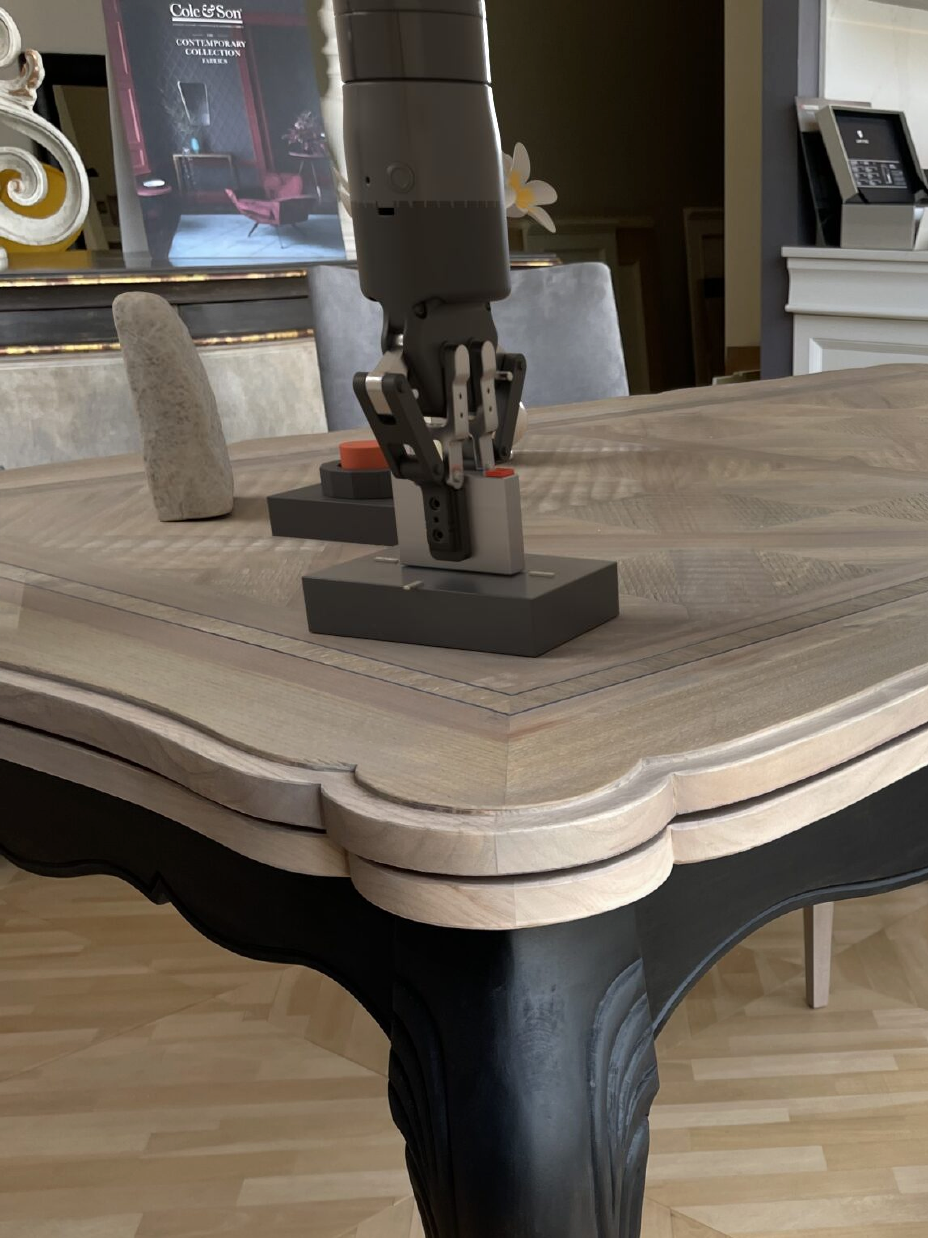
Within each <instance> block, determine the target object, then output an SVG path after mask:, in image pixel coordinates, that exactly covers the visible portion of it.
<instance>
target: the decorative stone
mask: <svg viewBox="0 0 928 1238" xmlns="http://www.w3.org/2000/svg"><path fill="white" fill-rule="evenodd" d="M111 305H112V315H113V323H114V326H115V329H116V333H117V337H118V343H119V347H120V351H121V356H122V360H123V365H124V369H125V374H126V378H127V382H128V385H129V388H130V392H131V397H132V404H133V407H134V411H135V412H134V413H135V416H136V421H137V427H138V435H139V439H140V446H141V447H140V448H141V454H142V463H143V467H144V472H145V473H144V474H145V477H146V478H145V479H146V482H147V486H148V491H149V495H150V499H151V503H152V507H153V509H154V514H155V517H156V519H157V520H159V521H160V522H174V521H175V522H176V521H184V520H192V519H194V520H196V519H197V520H199V519H206V518H213V517H218V516H221V515H226V514H230V513H231V512H232V509H233V507H234V494H235V482H234V480H235V479H234V473H233V466H232V463H231V460H230V459H231V458H230V455H229V449H228V445H227V442H226V436H225V434H224V430H223V426H222V425H223V424H222V420H221V416H220V413H219V410H218V405H217V399H216V395H215V392H214V389H213V387H212V385H211V383H210V380H209V377H208V374H207V371H206V368H205V365H204V363H203V362H202V359H201V356H200V354H199V351H198V349H197V347H196V345H195V342H194V341H193V340H194V339H193V338H192V336H191V334H190V331H189V328H188V327H187V326H186V324H185V322H184V321H183V320H182V319H181V317H180V316H179V314H178V313H177V312H176V310H175V309H174V308H173V307H172V306H171V304H170V303H169V301H167V299H165V298H164V297H163V296H161V295H159V294H157V293H153V292H148V291H147V292H146V291H126V292H123V293H121V294H118V295H117V296H116V297H115V298H114V300H113V302H112V304H111Z"/></svg>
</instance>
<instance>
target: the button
mask: <svg viewBox="0 0 928 1238" xmlns="http://www.w3.org/2000/svg"><path fill="white" fill-rule="evenodd" d="M338 448H339V458H340V460H341V465H342V468H346V469H379V468H389V465H388V463H387V461H386V459H385V457H384V455H383V453H382V451H381V448H380V446H379V444H378V442H377V440H376V439H375V440H374V439H372V440H352V441H345V442H341V443H340V444H339V445H338Z"/></svg>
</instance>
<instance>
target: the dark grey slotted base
mask: <svg viewBox="0 0 928 1238" xmlns="http://www.w3.org/2000/svg"><path fill="white" fill-rule="evenodd" d="M524 557H525V570H523V571H520V572H518V573H515V574H513V575H502V574H492V573H482V572H471V571H461V570H450V569H440V568H429V567H419V566H409V565H401V562H400V553H399V545H396V546H388V547H386V548H383V549H380V550H377V551H375V552H374V551H373V552H372V553H371V552H370V553H368V554H366V555H363V556H358V557H357V558H353V559H350V560H347V561H343V562H341V563H338V564H334V565H332V566H329V567H326V568H322V569H319V570H316V571H314V572H310V573H307V574H304V575H302V576H300V577H301V579H300V580H301V585H302V592H303V600H304V606H305V613H306V622H307V628H308V631H309V632H310V633H315V634H324V635H334V636H343V637H352V638H362V639H370V640H378V641H388V642H396V643H405V644H415V645H424V646H433V647H440V648H441V647H442V648H449V649H460V650H470V651H478V652H486V653H496V654H503V655H504V654H505V655H513V656H523V657H532V658H537V657H538V656H540V655H542V654H544V653H546V652H548V651H551V650H552V649H554V648H556V647H558V646H560V645H562V644H564V643H566V642H568V641H570V640H572V639H574V638H576V637H578V636H580V635H582V634H584V633H586V632H588V631H589V630H592V629H594V628H595V627H597V626H600V625H602V624H603V623H605V622H608V621H609V620H611V619H614V618H616V617H617V616H619V615H620V596H619V573H618V569H619V568H618V561H615V560H606V559H595V558H583V557H573V556H572V557H571V556H562V555H561V556H559V555H549V554H538V553H526V552H524Z"/></svg>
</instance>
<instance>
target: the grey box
mask: <svg viewBox="0 0 928 1238" xmlns="http://www.w3.org/2000/svg"><path fill="white" fill-rule="evenodd" d="M463 475H464V479H463V484H462V486H461V488H465V489H466V499H467V510H468V520H469V531H470V542H471V556H470V557H469V558H468V559H466V560H464V561H461V562H451V561H440V560H435V559H434V558H433V557H432V556H431V554H430V551H429V545H428V542H427V534H426V531H427V529H426V524H425V523H426V521H425V515H424V505H423V496H422V491H421V488H420V486H416V485H415V484H414V482H413V481H410V480H408V479H396V478H395V477H394V476H393V474H392V472H391V480H392V489H393V498H394V507H395V517H396V526H397V535H398V544H399V553H400V562H401V565H409V566H419V567H429V568H440V569H450V570H461V571H471V572H482V573H492V574H502V575H513V574H515V573H518V572H520V571H523V570H525V557H524V553H525V543H524V531H523V515H522V504H521V489H520V488H521V487H520V475H519V473H515V469H514V468H506V467H495V469H492V470H488V471H473V470H463Z"/></svg>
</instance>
